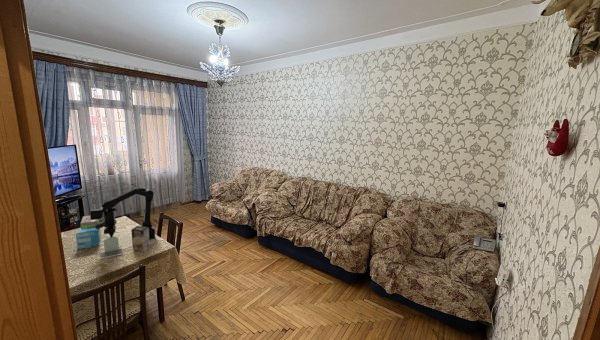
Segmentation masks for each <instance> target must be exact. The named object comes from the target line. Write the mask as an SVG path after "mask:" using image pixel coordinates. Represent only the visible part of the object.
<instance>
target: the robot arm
mask: <svg viewBox="0 0 600 340" xmlns="http://www.w3.org/2000/svg"><path fill="white" fill-rule="evenodd" d="M135 195H138V196H141V197H144V215H143V216H144V217H143V219H141V222H140V223H141V224H140V226H143V227H149V241H150V240H151V241H152V240H155V239H156V228H155V227H154V225H153V224H152V221H151V211H152V201H153V198H154V195H155V193H154V191H153V190H152V189H151V188H143V187H141V188H140V187H133V188H132V189H130V190H128V191H125V192H123V193H121V194H119V195H116V196H114V197H110V198H106V199H104V200H103V202H102V205H101V206H100V208H99V209H90V210H89V213H90V214H89V216H90V219H91V220H95V219H99V220H101V221H99V222H98V223H96V224H95V228H96V229H97V230H98V229H100V230H101V229H102V228H104V229H103V234H104V235H109V238H110V237H114V235H115V233H116V230H117V229H116V228H117V219H116V215H115V212H116V211H118V208H117V207H116V206H117V205H118V204H119V203H122V202H123V201H125V200H127V199H129V198H131V197H133V196H135ZM103 217H104V219H103V220H102V218H103Z"/></svg>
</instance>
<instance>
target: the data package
mask: <svg viewBox="0 0 600 340" xmlns="http://www.w3.org/2000/svg"><path fill="white" fill-rule="evenodd" d="M75 239H76V247H77V249H85V248H90V247H96V246H99V244H100V234H99V232H98V230H97V229H96V228H92V229H86V230H81V229H80V230H78V231H76V234H75Z"/></svg>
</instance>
